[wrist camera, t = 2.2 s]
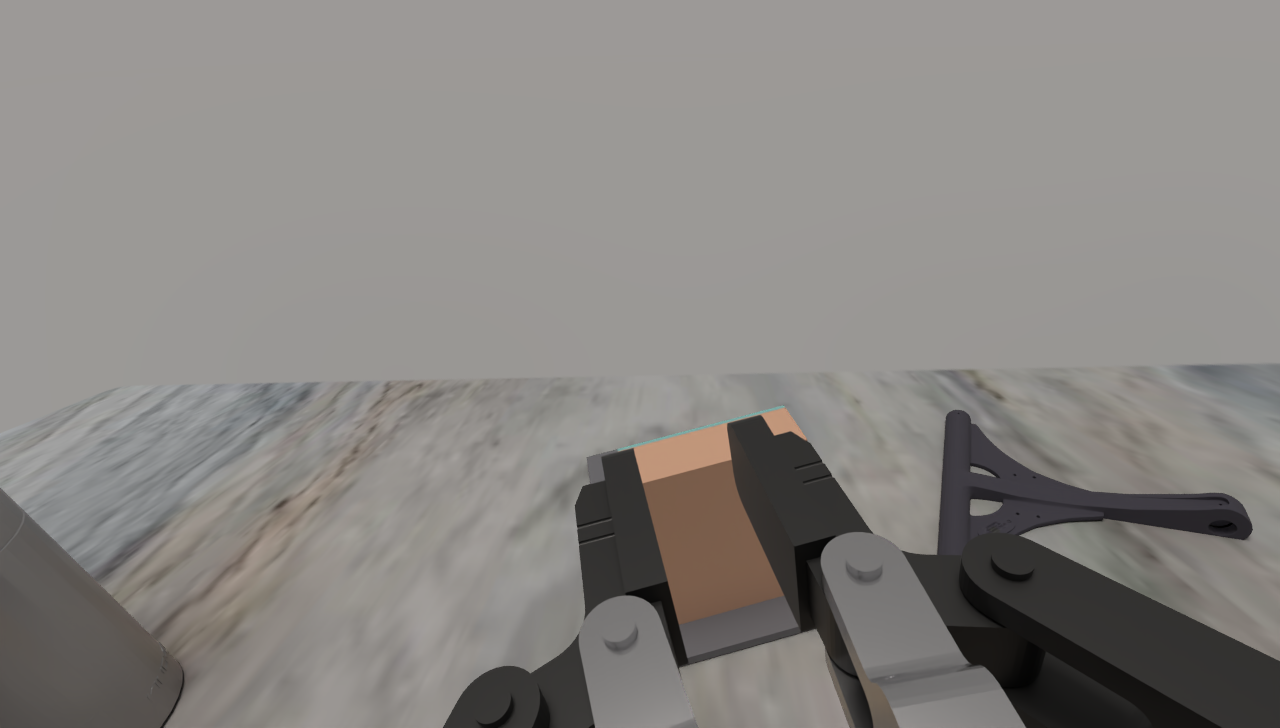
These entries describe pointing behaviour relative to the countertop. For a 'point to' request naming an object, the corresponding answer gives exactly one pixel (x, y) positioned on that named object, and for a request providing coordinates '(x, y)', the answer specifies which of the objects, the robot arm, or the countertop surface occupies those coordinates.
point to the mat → (725, 615)
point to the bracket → (1054, 497)
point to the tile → (706, 519)
